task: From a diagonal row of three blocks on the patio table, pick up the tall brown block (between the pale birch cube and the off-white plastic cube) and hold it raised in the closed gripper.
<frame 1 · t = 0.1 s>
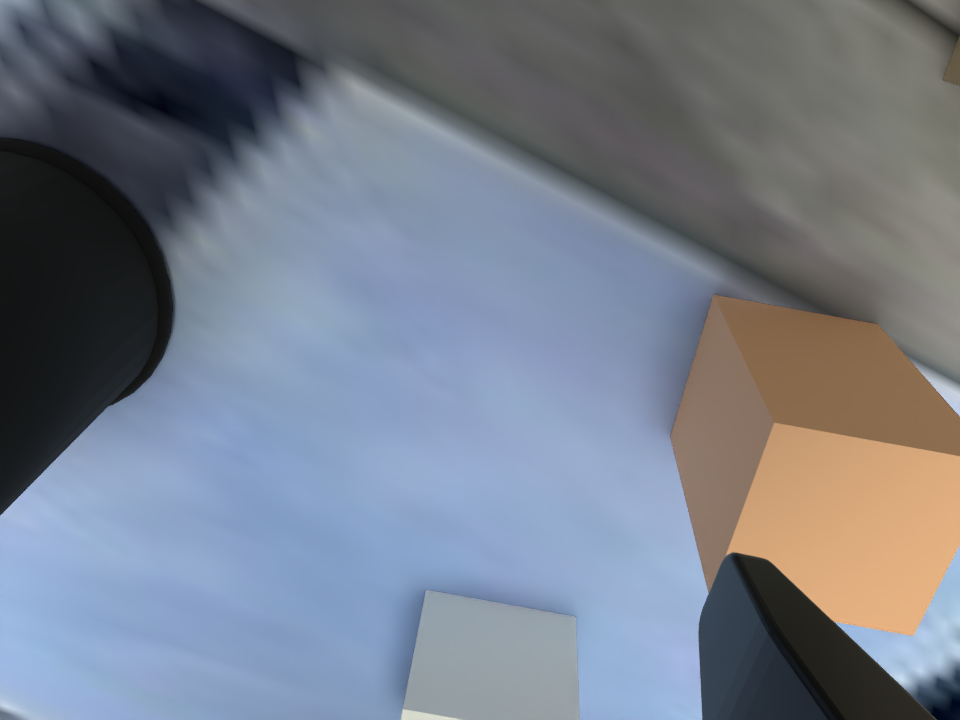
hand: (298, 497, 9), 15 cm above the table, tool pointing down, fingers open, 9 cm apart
aerosol can: (37, 280, 24), on the table
brown block: (769, 382, 24), on the table
off-white cube: (488, 657, 29), on the table
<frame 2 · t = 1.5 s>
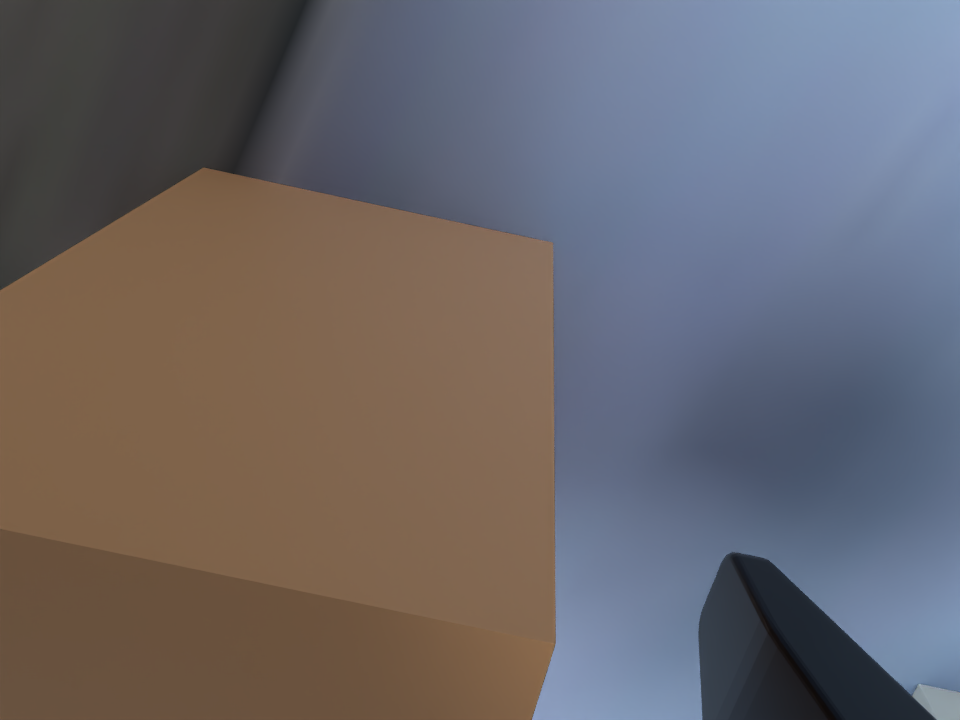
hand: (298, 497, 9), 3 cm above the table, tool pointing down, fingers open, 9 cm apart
brown block: (355, 361, 12), on the table
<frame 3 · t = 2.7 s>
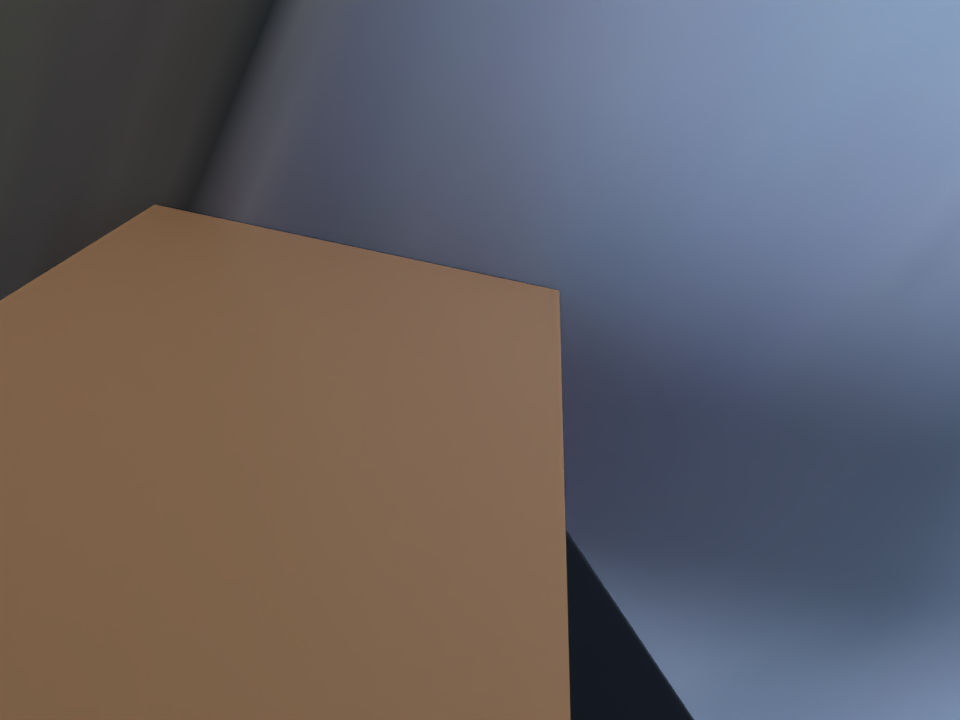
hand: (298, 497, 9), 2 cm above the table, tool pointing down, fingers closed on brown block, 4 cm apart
brown block: (333, 422, 10), on the table, touching gripper
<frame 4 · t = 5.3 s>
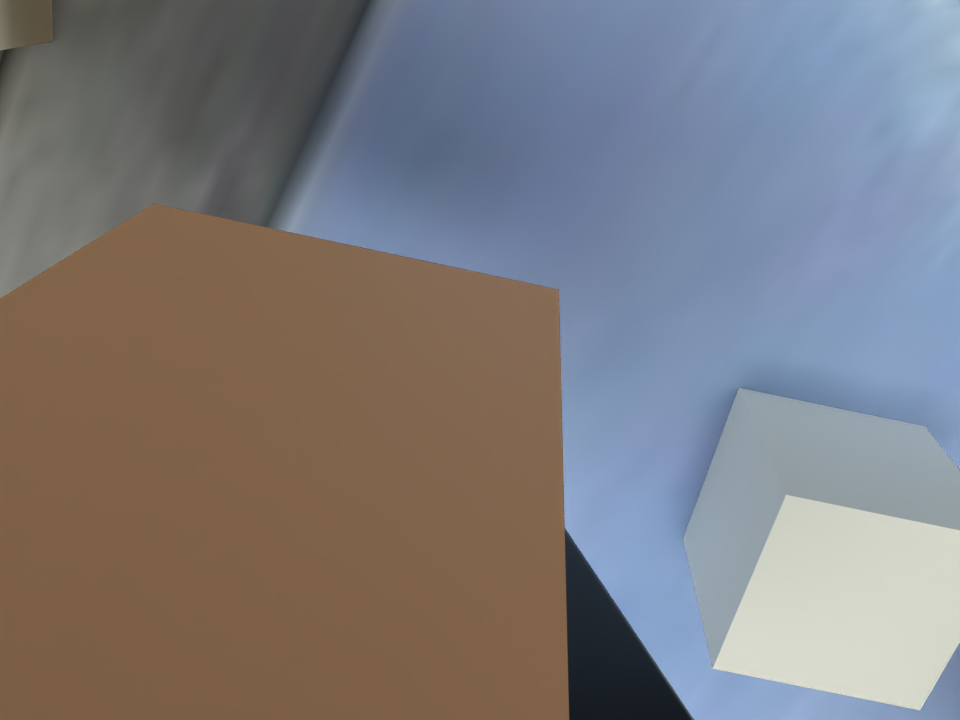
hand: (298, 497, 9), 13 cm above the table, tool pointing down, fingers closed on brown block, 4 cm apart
brown block: (332, 422, 10), point 11 cm above the table, touching gripper
off-white cube: (797, 483, 23), on the table
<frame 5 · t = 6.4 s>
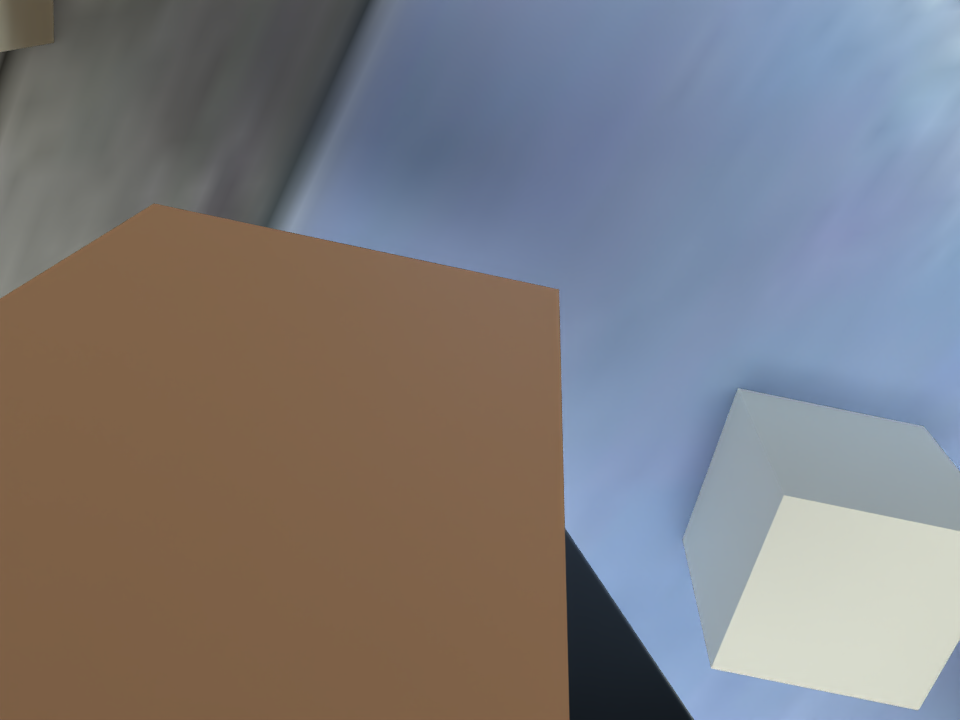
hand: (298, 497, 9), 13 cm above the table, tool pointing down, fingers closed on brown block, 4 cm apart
brown block: (332, 422, 10), point 11 cm above the table, touching gripper
off-white cube: (796, 483, 23), on the table
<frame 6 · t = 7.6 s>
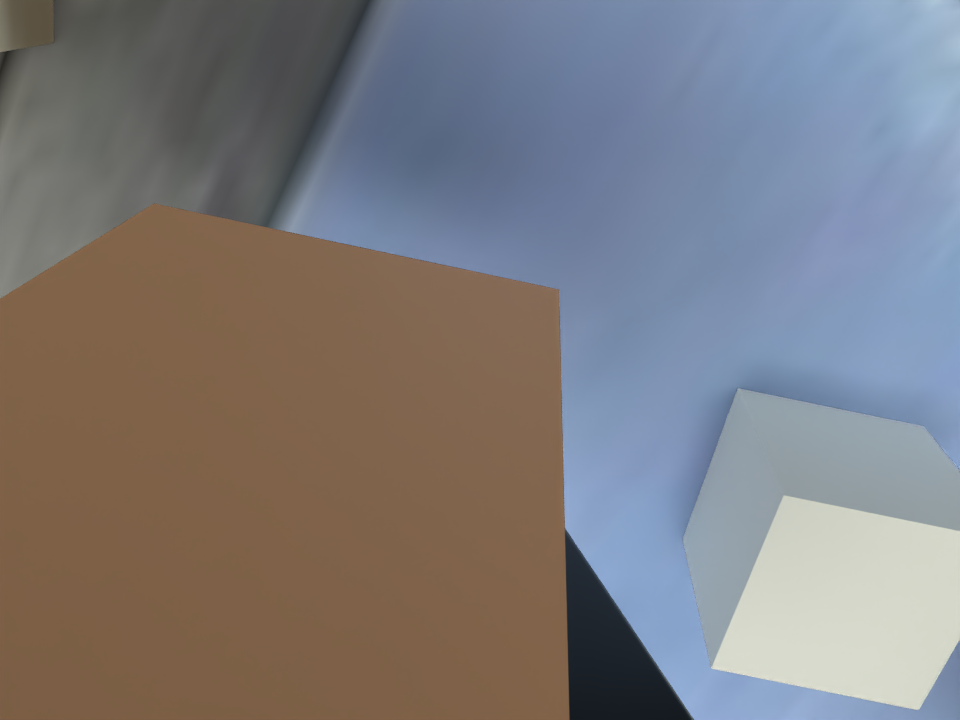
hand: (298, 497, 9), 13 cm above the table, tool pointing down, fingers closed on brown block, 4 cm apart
brown block: (332, 422, 10), point 11 cm above the table, touching gripper
off-white cube: (796, 483, 23), on the table
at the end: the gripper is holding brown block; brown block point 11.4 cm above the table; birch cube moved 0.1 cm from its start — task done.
